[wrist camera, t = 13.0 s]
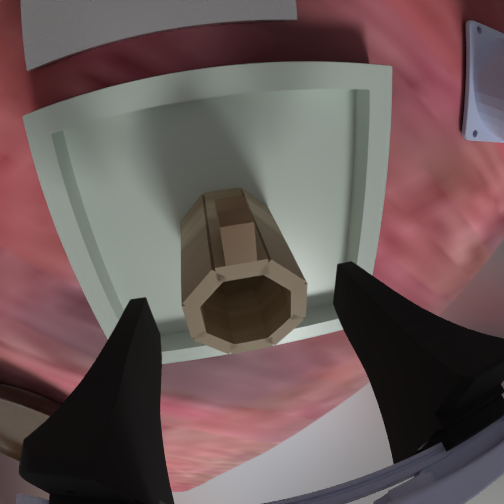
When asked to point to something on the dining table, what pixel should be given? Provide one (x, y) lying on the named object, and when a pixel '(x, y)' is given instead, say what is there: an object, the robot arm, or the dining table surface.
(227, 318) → the sleeve
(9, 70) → the dining table surface
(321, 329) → the tray
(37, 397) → the plant saucer
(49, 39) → the square base plate
